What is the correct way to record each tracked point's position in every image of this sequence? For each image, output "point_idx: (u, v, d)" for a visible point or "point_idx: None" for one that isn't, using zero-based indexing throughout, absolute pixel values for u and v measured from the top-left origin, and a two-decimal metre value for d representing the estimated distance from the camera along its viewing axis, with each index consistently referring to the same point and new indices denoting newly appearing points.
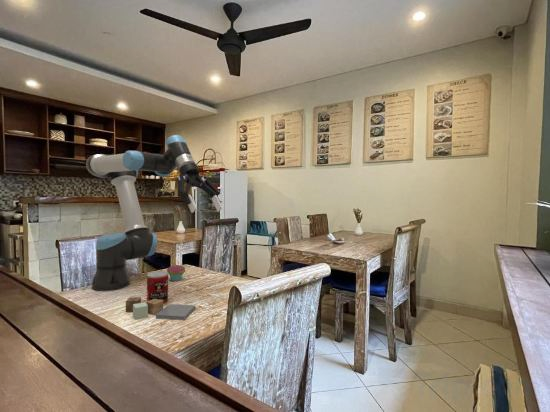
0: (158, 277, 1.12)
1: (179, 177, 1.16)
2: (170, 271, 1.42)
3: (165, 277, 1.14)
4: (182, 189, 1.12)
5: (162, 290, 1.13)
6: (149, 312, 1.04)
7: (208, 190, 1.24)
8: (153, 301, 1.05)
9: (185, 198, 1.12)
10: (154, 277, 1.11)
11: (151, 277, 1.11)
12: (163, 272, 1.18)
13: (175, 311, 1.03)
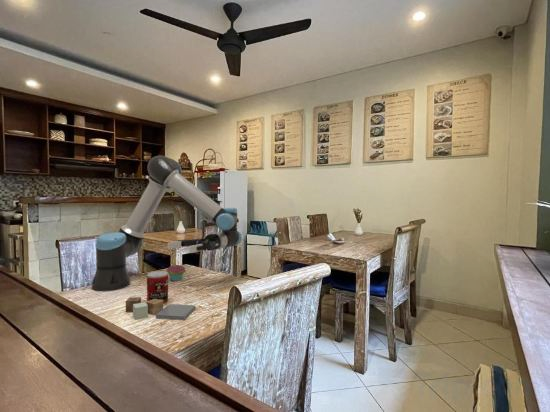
0: (158, 277, 1.12)
1: (217, 245, 1.32)
2: (170, 271, 1.42)
3: (165, 277, 1.14)
4: (209, 249, 1.25)
5: (162, 290, 1.13)
6: (149, 312, 1.04)
7: (188, 244, 1.34)
8: (153, 301, 1.05)
9: (202, 248, 1.23)
10: (154, 277, 1.11)
11: (151, 277, 1.11)
12: (163, 272, 1.18)
13: (175, 311, 1.03)
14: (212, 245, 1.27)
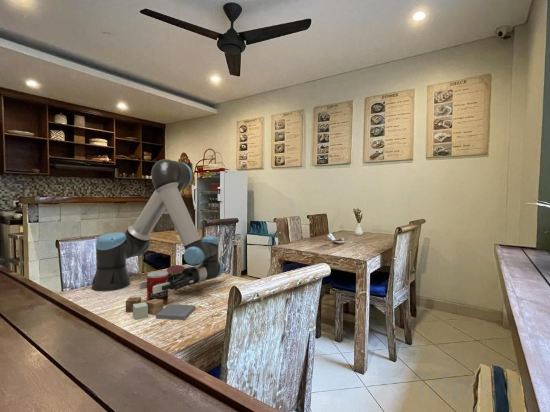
0: (158, 277, 1.12)
1: (191, 282, 1.21)
2: (170, 271, 1.42)
3: (165, 277, 1.14)
4: None
5: None
6: (149, 312, 1.04)
7: None
8: (153, 301, 1.05)
9: (168, 287, 1.13)
10: (154, 277, 1.11)
11: (151, 277, 1.11)
12: (163, 272, 1.18)
13: (175, 311, 1.03)
14: (182, 283, 1.16)
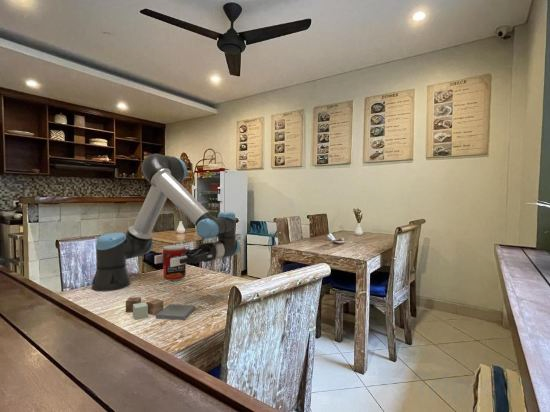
0: (175, 249, 1.03)
1: (210, 256, 1.12)
2: None
3: (183, 250, 1.05)
4: None
5: None
6: (149, 312, 1.04)
7: None
8: (153, 301, 1.05)
9: (187, 260, 1.04)
10: (171, 249, 1.03)
11: (168, 249, 1.03)
12: (180, 245, 1.09)
13: (175, 311, 1.03)
14: (200, 257, 1.08)
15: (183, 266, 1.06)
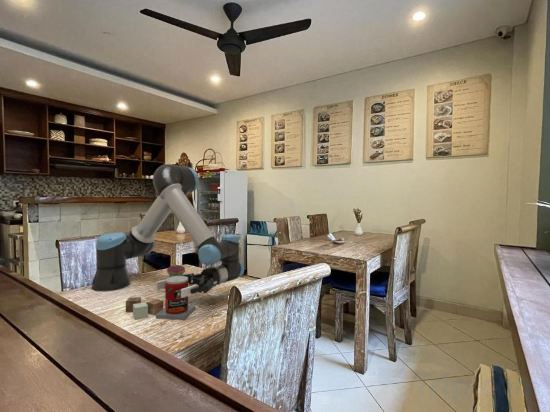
0: (178, 283, 1.00)
1: (215, 283, 1.10)
2: (170, 271, 1.42)
3: (185, 283, 1.03)
4: None
5: None
6: (149, 312, 1.04)
7: None
8: (153, 301, 1.05)
9: (197, 290, 1.01)
10: (174, 283, 1.00)
11: (170, 283, 1.00)
12: (182, 277, 1.07)
13: None
14: (209, 285, 1.05)
15: (185, 299, 1.03)
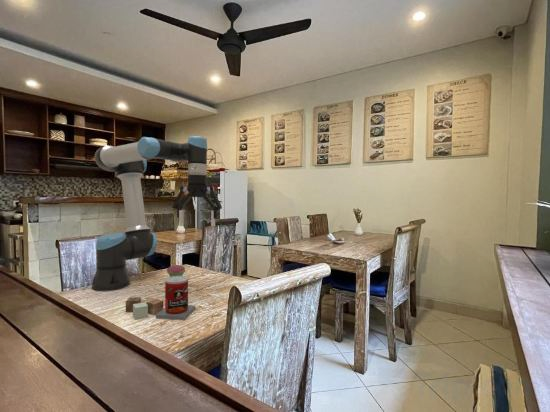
0: (178, 283, 1.01)
1: None
2: (170, 271, 1.42)
3: (185, 283, 1.03)
4: (175, 204, 1.23)
5: (182, 297, 1.02)
6: (149, 312, 1.04)
7: None
8: (153, 301, 1.05)
9: None
10: (173, 283, 1.00)
11: (170, 283, 1.00)
12: (182, 277, 1.07)
13: None
14: None
15: (185, 299, 1.03)
